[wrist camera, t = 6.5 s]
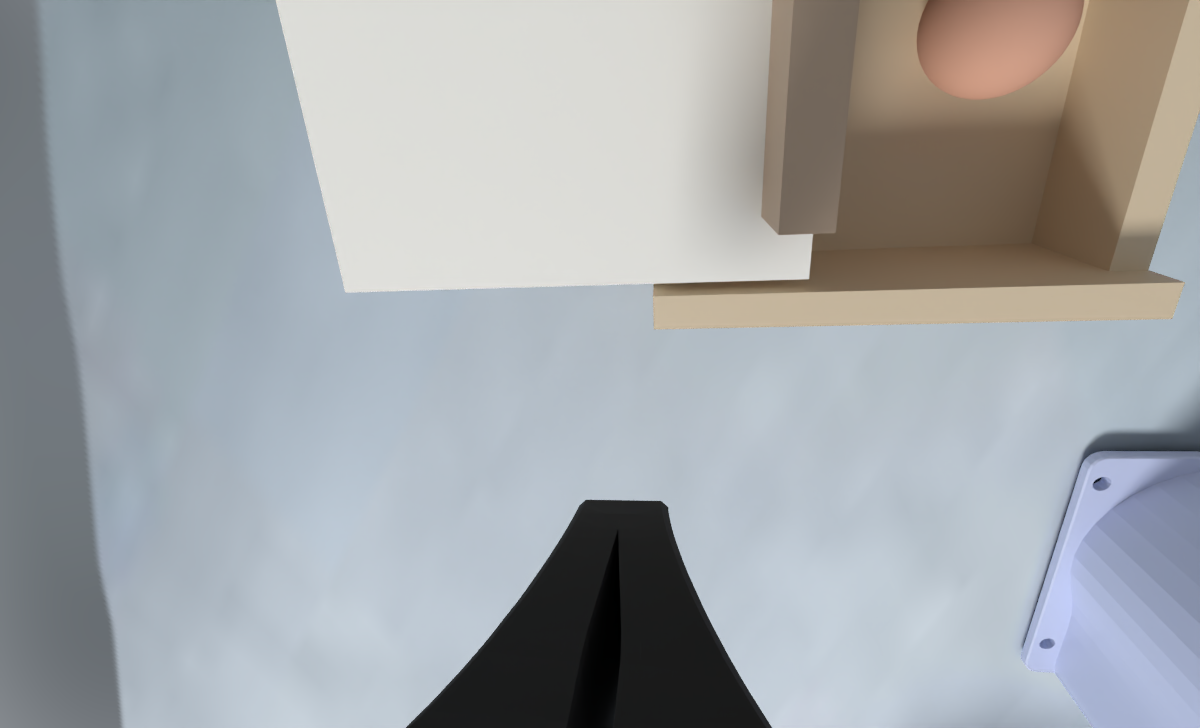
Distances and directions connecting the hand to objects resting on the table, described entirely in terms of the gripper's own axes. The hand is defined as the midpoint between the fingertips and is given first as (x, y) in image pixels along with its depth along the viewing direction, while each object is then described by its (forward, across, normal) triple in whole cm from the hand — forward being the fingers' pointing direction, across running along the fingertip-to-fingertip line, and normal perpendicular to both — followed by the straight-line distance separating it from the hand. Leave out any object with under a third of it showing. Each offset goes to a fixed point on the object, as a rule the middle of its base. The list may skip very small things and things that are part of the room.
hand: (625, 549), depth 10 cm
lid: (+6, +2, -8) cm, 10 cm away
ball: (+9, -8, -8) cm, 15 cm away
